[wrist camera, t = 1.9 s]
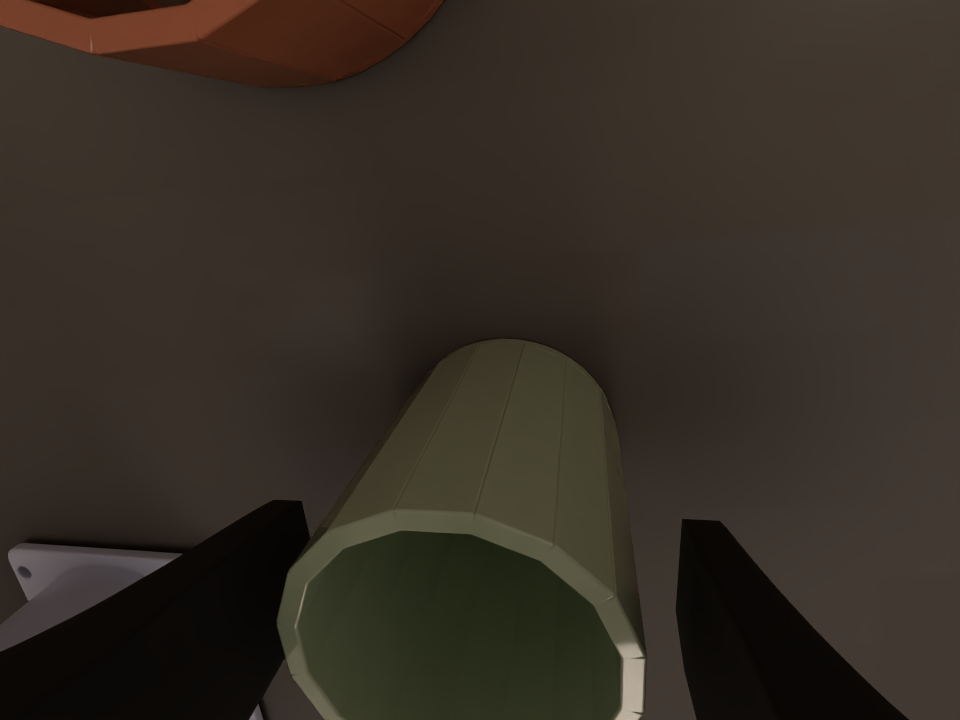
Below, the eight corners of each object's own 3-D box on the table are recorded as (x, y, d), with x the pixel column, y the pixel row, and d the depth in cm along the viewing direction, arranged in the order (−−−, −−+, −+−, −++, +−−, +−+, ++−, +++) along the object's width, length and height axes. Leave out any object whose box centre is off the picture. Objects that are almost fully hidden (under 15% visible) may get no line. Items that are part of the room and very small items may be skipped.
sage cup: (614, 525, 15) (640, 813, 8) (422, 516, 16) (314, 766, 9) (618, 336, 13) (654, 521, 6) (398, 339, 14) (241, 502, 8)
